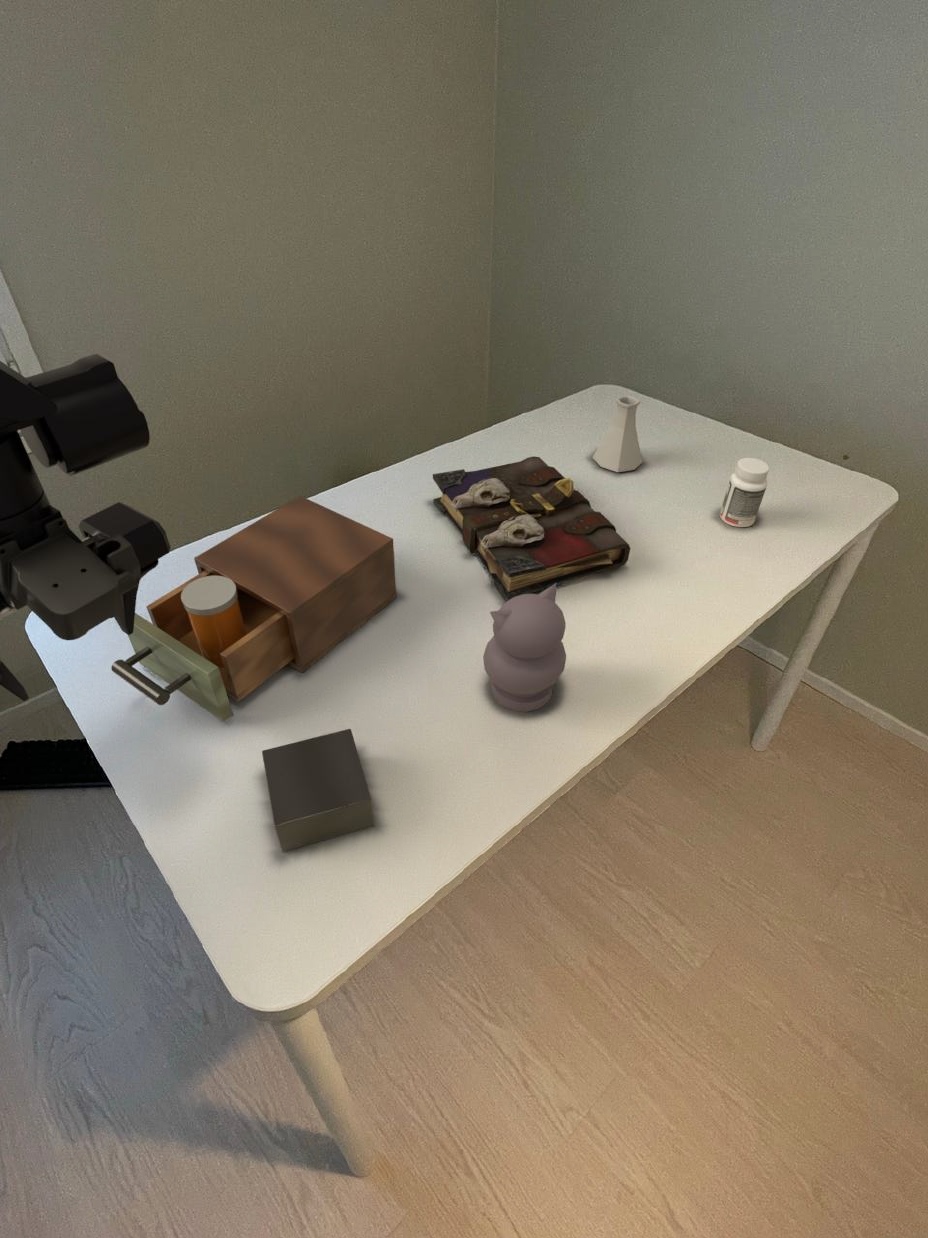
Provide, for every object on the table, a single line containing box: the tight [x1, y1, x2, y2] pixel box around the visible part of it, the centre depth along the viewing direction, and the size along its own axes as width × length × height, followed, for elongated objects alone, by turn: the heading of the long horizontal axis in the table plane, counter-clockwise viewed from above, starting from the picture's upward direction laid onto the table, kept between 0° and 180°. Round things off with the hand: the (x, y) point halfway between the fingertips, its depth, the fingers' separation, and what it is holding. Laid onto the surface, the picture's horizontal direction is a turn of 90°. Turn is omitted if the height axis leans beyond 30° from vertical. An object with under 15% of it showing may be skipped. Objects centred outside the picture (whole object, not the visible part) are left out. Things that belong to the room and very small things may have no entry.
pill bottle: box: [719, 457, 770, 528], centre depth 95 cm, size 5×5×8 cm
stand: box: [261, 728, 375, 853], centre depth 62 cm, size 8×8×4 cm
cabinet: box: [193, 495, 397, 674], centre depth 80 cm, size 16×15×9 cm
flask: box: [592, 395, 643, 473], centre depth 106 cm, size 7×7×10 cm
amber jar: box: [181, 576, 247, 667], centre depth 72 cm, size 5×5×8 cm
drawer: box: [110, 570, 295, 723], centre depth 72 cm, size 18×13×7 cm
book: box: [432, 455, 631, 603], centre depth 92 cm, size 26×18×7 cm
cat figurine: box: [482, 583, 567, 713], centre depth 70 cm, size 9×8×12 cm
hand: (78, 663), depth 57 cm, fingers open, 9 cm apart
